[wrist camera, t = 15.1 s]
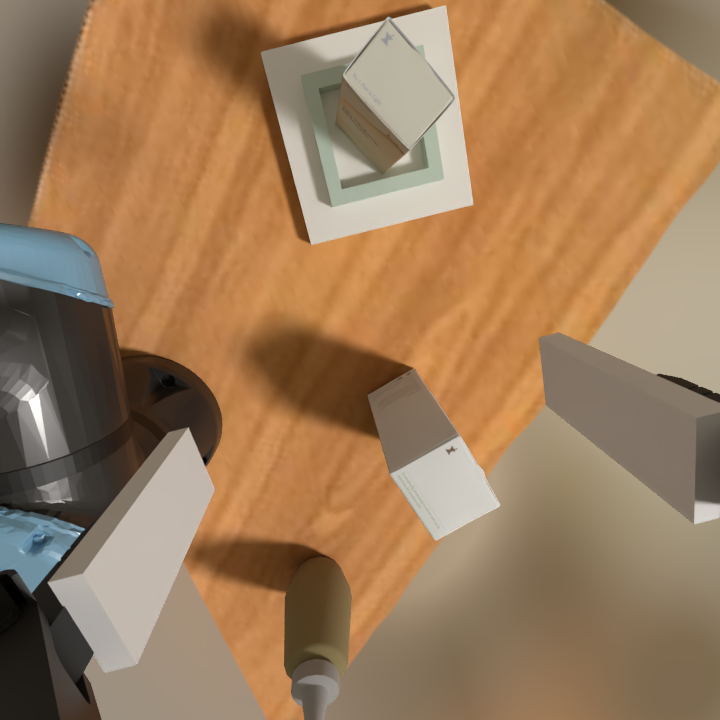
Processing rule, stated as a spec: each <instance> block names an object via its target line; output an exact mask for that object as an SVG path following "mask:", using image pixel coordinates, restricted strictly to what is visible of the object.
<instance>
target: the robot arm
mask: <svg viewBox="0 0 720 720" xmlns="http://www.w3.org/2000/svg"><path fill="white" fill-rule="evenodd" d="M112 308H114V304H113V301H112V300H111V299H109V297H108V293H107V289H106V285H105V281H104V277H103V273H102V269H101V265H100V261H99V258H98V256H97V254H96V253H95V251H94V250H93V248H92V247H91V246H90V245H89V244H87V243H86V242H85V241H83V240H82V239H80V238H78V237H76V236H74V235H71V234H68V233H64V232H59V231H53V230H47V229H41V228H34V227H27V226H19V225H11V224H3V223H0V720H101V717H100V713H99V710H98V707H97V703H96V700H95V696H94V693H93V690H92V687H91V683H90V682H89V680H88V678H87V677H86V676H85V674H84V670H85V668H86V666H87V665H88V663H89V661H90V659H91V658H92V656H93V655H94V657H95V658H96V660H97V661H98V663H99V664H100V666H101V668H102V669H103V671H104V672H105V673H106V672H110V671H114V670H118V669H121V668H126V667H130V666H134V665H137V663H138V661H139V659H140V657H141V654H142V652H143V650H144V647H145V645H146V643H147V641H148V639H149V636H150V634H151V632H152V629H153V628H154V625H155V623H156V621H157V619H158V616H159V614H160V612H161V609H162V607H163V605H164V603H165V601H166V598H167V596H168V594H169V591H170V589H171V587H172V585H173V583H174V580H175V578H176V576H177V574H178V571H179V569H180V567H181V565H182V562H183V560H184V558H185V556H186V553H187V551H188V549H189V547H190V544H191V542H192V540H193V538H194V535H195V533H196V531H197V529H198V526H199V524H200V522H201V520H202V517H203V515H204V513H205V511H206V508H207V506H208V504H209V502H210V499H211V497H212V495H213V493H214V490H215V489H214V486H213V484H212V481H211V479H210V477H209V474H208V472H207V470H206V466H207V465H208V463H209V462H210V460H211V458H212V457H213V455H214V453H215V451H216V449H217V447H218V445H219V442H220V439H221V434H222V417H221V412H220V408H219V405H218V403H217V401H216V399H215V397H214V395H213V393H212V392H211V390H210V389H209V388H208V386H207V385H206V384H205V383H204V382H203V381H202V380H201V379H200V378H199V377H198V376H197V375H195V374H194V373H193V372H192V371H190V370H189V369H187V368H185V367H184V366H182V365H180V364H178V363H175V362H173V361H170V360H167V359H163V358H159V357H153V356H132V357H126V358H122V359H121V356H120V351H119V345H118V340H117V334H116V329H115V323H114V318H113V312H112ZM539 345H540V354H541V364H542V373H543V382H544V392H545V401H546V406H548V407H549V408H550V409H551V410H553V411H554V412H555V413H556V414H557V415H559V416H560V417H561V418H562V419H564V420H565V421H566V422H567V423H569V424H570V425H571V426H572V427H574V428H575V429H576V430H577V431H579V432H580V433H581V434H582V435H584V436H585V437H586V438H588V439H589V440H590V441H591V442H592V443H594V444H595V445H596V446H597V447H599V448H600V449H601V450H603V451H604V452H605V453H606V454H607V455H609V456H610V457H611V458H612V459H614V460H615V461H616V462H617V463H618V464H620V465H621V466H622V467H623V468H625V469H626V470H627V471H629V472H630V473H631V474H632V475H634V476H635V477H636V478H637V479H638V480H640V481H641V482H642V483H644V484H645V485H646V486H647V487H648V488H650V489H651V490H652V491H653V492H655V493H656V494H657V495H658V496H660V497H661V498H662V499H663V500H665V501H666V502H667V503H668V504H670V505H671V506H672V507H673V508H675V509H676V510H677V511H678V512H680V513H681V514H682V515H683V516H685V517H686V518H687V519H689V521H691V522H692V523H693V524H697V523H701V522H705V521H709V520H713V519H717V518H720V394H718V393H713V392H712V391H711V390H708V389H706V388H703V387H698V385H696V384H694V383H691V382H689V381H686V380H684V379H682V378H678V377H673V376H667V375H663V374H657V375H655V374H652V373H650V372H648V371H645V370H643V369H641V368H638V367H636V366H634V365H632V364H630V363H627V362H625V361H623V360H621V359H618V358H616V357H614V356H611V355H609V354H607V353H605V352H602V351H600V350H598V349H595V348H593V347H591V346H589V345H586V344H584V343H582V342H580V341H577V340H575V339H573V338H571V337H568V336H566V335H564V334H561V333H555V334H552V335H548V336H544V337H540V338H539Z"/></svg>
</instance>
